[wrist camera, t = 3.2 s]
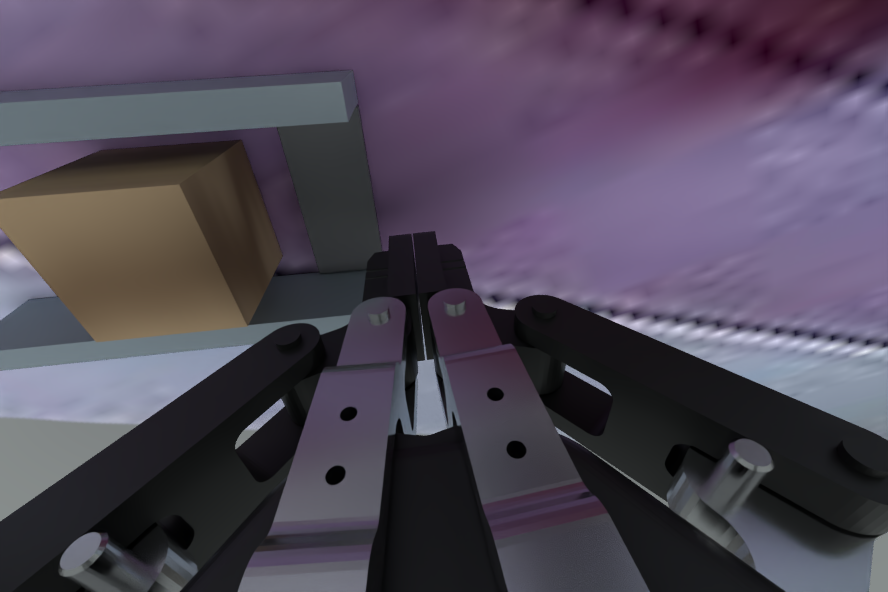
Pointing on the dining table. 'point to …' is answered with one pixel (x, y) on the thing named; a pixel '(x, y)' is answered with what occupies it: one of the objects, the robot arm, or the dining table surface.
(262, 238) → the block
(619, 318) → the dining table surface
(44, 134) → the channel
